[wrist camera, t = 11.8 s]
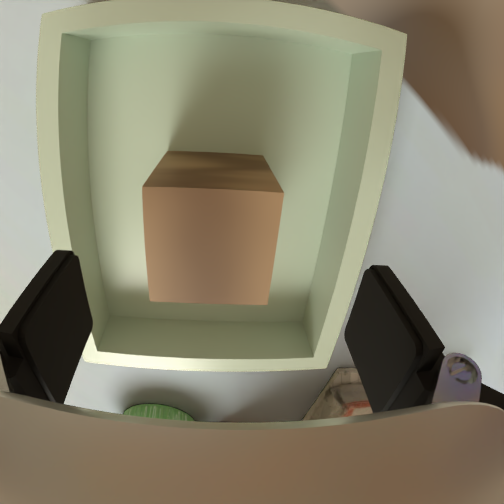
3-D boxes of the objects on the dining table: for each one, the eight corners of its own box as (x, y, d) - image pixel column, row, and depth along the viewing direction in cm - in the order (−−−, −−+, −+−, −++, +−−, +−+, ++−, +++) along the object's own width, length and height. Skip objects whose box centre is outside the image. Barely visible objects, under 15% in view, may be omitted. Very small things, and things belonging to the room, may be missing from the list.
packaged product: (306, 455, 28) (349, 404, 24) (298, 419, 32) (335, 362, 28) (429, 438, 32) (477, 389, 27) (417, 411, 36) (459, 361, 31)
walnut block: (262, 155, 17) (284, 192, 11) (253, 239, 19) (267, 305, 14) (167, 150, 16) (141, 186, 11) (167, 236, 18) (149, 301, 13)
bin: (366, 41, 14) (407, 34, 11) (311, 324, 24) (326, 368, 20) (80, 25, 12) (42, 14, 8) (100, 317, 22) (85, 361, 18)
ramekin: (136, 439, 32) (132, 470, 28) (105, 399, 28) (97, 435, 24) (208, 438, 32) (209, 471, 29) (190, 397, 28) (189, 436, 24)
